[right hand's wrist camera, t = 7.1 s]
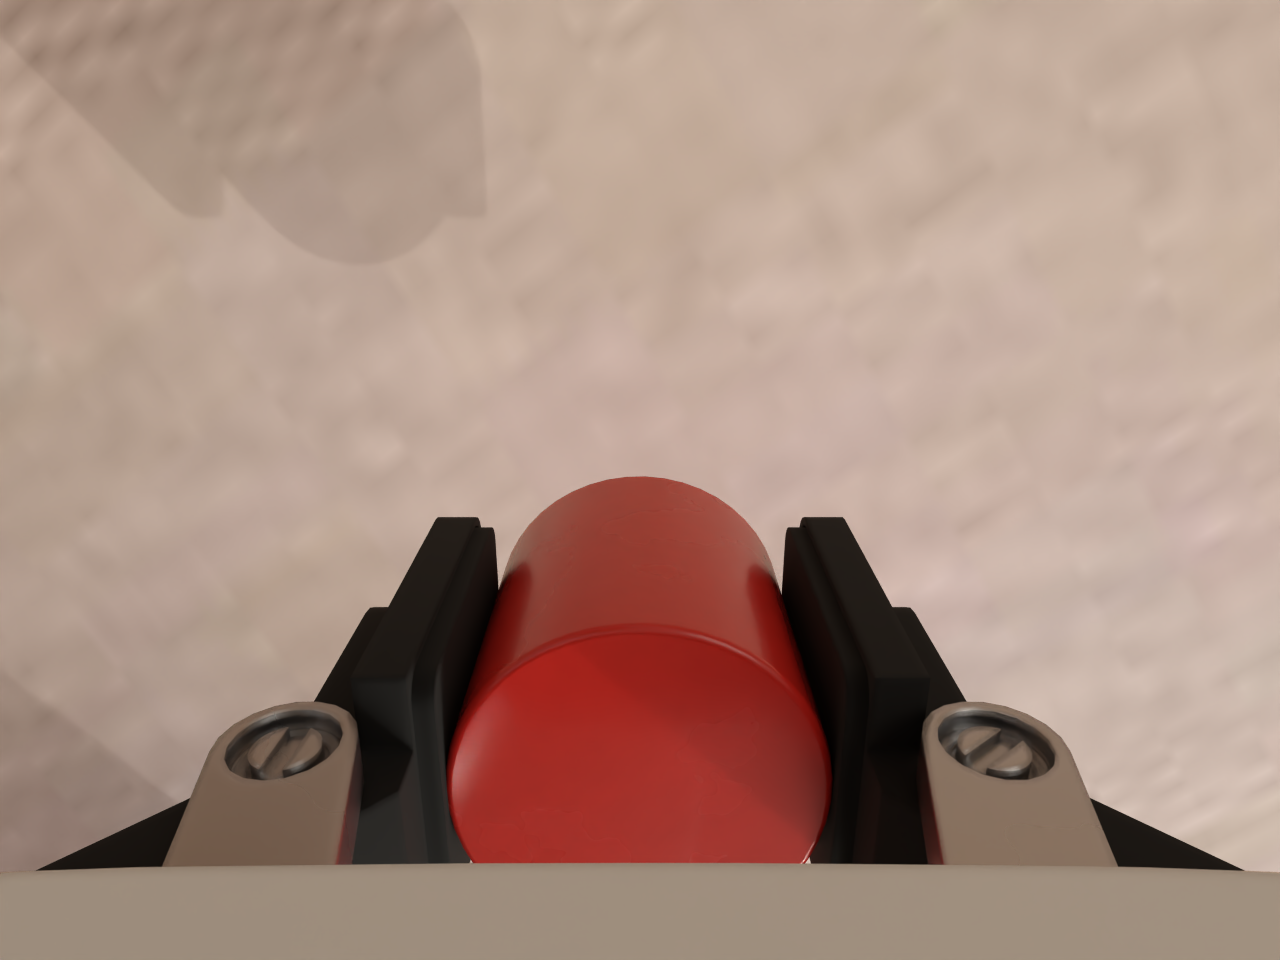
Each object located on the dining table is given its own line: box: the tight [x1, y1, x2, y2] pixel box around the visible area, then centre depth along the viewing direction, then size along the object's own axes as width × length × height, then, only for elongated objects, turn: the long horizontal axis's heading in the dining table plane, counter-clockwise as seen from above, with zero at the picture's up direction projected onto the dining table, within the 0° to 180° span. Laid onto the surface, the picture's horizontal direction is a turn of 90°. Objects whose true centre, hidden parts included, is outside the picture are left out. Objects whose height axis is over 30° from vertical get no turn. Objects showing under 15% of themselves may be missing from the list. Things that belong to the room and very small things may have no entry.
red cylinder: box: [446, 477, 833, 864], centre depth 11 cm, size 4×4×4 cm
